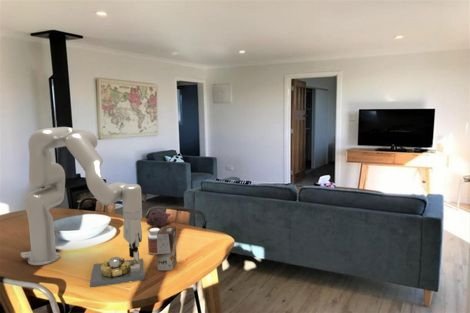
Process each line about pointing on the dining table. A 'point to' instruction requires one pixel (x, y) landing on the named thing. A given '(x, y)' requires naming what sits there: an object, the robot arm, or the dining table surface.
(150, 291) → the dining table surface
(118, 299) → the dining table surface
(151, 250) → the pill bottle
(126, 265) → the gold ring
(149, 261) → the dining table surface
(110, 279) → the plate
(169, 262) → the coffee box
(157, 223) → the pine cone
